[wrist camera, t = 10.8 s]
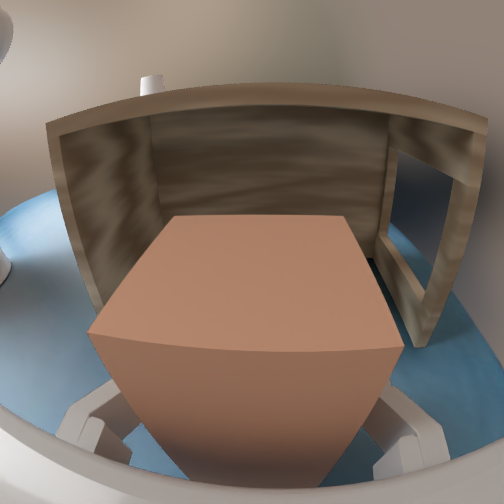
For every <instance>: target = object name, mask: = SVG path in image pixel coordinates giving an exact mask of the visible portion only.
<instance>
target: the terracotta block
mask: <svg viewBox="0 0 504 504" xmlns="http://www.w3.org/2000/svg"><path fill="white" fill-rule="evenodd" d="M87 334H88V336H89V338H90V340H91V342H92V343H93V345H94V347H95V349H96V351H97V353H98V355H99V356H100V358H101V360H102V362H103V363H104V365H105V367H106V369H107V370H108V372H109V374H110V375H111V377H112V379H113V380H114V382H115V383H116V385H117V387H118V388H119V390H120V391H121V393H122V394H123V396H124V397H125V399H126V400H127V402H128V403H129V405H130V406H131V408H132V409H133V411H134V412H135V413H136V415H137V416H138V418H139V419H140V420H141V422H142V423H143V424H144V426H145V427H146V428H147V430H148V431H149V432H150V434H151V435H152V436H153V438H154V439H155V440H156V441H157V443H158V444H159V445H160V446H161V447H162V449H163V450H164V451H165V452H166V453H167V455H168V456H169V457H170V458H171V459H172V460H173V462H174V463H175V464H176V465H177V466H178V467H179V468H180V469H181V471H182V472H183V473H184V474H185V475H186V476H187V477H188V478H189V479H190V480H191V481H197V482H203V483H210V484H218V485H226V486H236V487H249V488H273V489H293V488H317V487H318V486H319V485H320V484H321V482H322V481H323V480H324V479H325V477H326V476H327V475H328V473H329V472H330V471H331V470H332V468H333V467H334V466H335V464H336V463H337V462H338V460H339V459H340V457H341V456H342V455H343V453H344V452H345V450H346V449H347V448H348V446H349V445H350V443H351V442H352V440H353V439H354V437H355V436H356V434H357V433H358V431H359V430H360V428H361V426H362V425H363V423H364V422H365V420H366V418H367V417H368V415H369V413H370V412H371V410H372V408H373V407H374V405H375V403H376V401H377V400H378V398H379V396H380V394H381V392H382V391H383V389H384V387H385V385H386V383H387V381H388V379H389V377H390V375H391V373H392V371H393V369H394V367H395V365H396V363H397V361H398V359H399V357H400V355H401V353H402V351H403V348H404V343H403V341H402V338H401V336H400V333H399V331H398V328H397V326H396V324H395V321H394V319H393V317H392V314H391V312H390V310H389V307H388V305H387V303H386V301H385V298H384V296H383V294H382V292H381V289H380V287H379V285H378V283H377V281H376V279H375V277H374V275H373V272H372V270H371V268H370V266H369V264H368V262H367V260H366V258H365V256H364V254H363V252H362V250H361V248H360V246H359V244H358V242H357V241H356V239H355V237H354V235H353V233H352V231H351V229H350V227H349V225H348V224H347V222H346V220H345V218H344V216H326V215H189V216H174V217H173V218H172V219H171V220H170V222H169V223H168V224H167V225H166V226H165V228H164V229H163V230H162V231H161V232H160V234H159V235H158V236H157V237H156V239H155V240H154V241H153V242H152V244H151V245H150V246H149V247H148V249H147V250H146V251H145V252H144V254H143V255H142V256H141V257H140V259H139V260H138V261H137V263H136V264H135V265H134V267H133V268H132V269H131V270H130V272H129V273H128V274H127V276H126V277H125V278H124V280H123V281H122V282H121V284H120V285H119V287H118V288H117V289H116V291H115V292H114V293H113V295H112V296H111V298H110V299H109V300H108V302H107V303H106V305H105V306H104V307H103V309H102V310H101V312H100V313H99V315H98V316H97V318H96V319H95V320H94V322H93V323H92V325H91V326H90V328H89V329H88V331H87Z"/></svg>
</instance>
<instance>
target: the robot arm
mask: <svg viewBox="0 0 504 504" xmlns="http://www.w3.org/2000/svg"><path fill="white" fill-rule="evenodd" d="M12 38H13V24H12V20H11V18H10V16H9V15H8V13H7V12H6V11H4V10H3V9H2V8H1V7H0V64H1V62H2V61H3V59H4V58H5V56H6V54H7V52H8V50H9V48H10V45H11V42H12ZM10 269H11V262H10V261H9V259H8V258H7V257H6V255H5V254H4V252H3V251H2V249H1V248H0V285H1V283H2V282H3V281H4V280H5V278H6V277H7V275H8V273H9V271H10ZM140 423H142V422H141V420H140V419H139V418H138V416H137V415H136V413H135V412H134V411H133V409H132V408H131V406H130V405H129V403H128V402H127V400H126V399H125V397H124V396H123V394H122V393H121V391H120V390H119V388H118V387H117V385H116V383H115V382H114V380H113V379H110V380H109V381H107V382H106V383H104V384H103V385H101V386H100V387H98V388H97V389H95V390H94V391H92V392H91V393H89V394H88V395H86V396H85V397H83V398H82V399H80V400H79V401H77V402H75V403H74V404H72V405H71V406H69V408H68V410H67V412H66V414H65V416H64V418H63V420H62V422H61V424H60V426H59V428H58V430H57V432H56V435H55V436H54V435H52V434H50V433H48V432H46V431H44V430H42V429H41V428H39V427H37V426H35V425H33V424H32V423H30V422H28V421H26V420H25V419H23V418H21V417H20V416H18V415H16V414H15V413H13V412H12V411H10V410H9V409H7V408H5V407H4V406H2V405H1V404H0V504H504V437H502V438H500V439H498V440H496V441H494V442H492V443H490V444H488V445H486V446H484V447H481V448H479V449H477V450H475V451H472V452H470V453H467V454H465V455H462V456H460V457H457V458H455V459H452V460H451V459H450V455H449V451H448V447H447V443H446V439H445V436H444V432H443V429H442V426H441V425H440V424H439V423H437V422H436V421H435V420H434V419H433V418H432V417H431V416H429V415H428V414H427V413H426V412H425V411H424V410H423V409H421V408H420V407H419V406H418V405H417V404H416V403H414V402H413V401H412V400H411V399H410V398H409V397H408V396H406V395H405V394H404V393H403V392H402V391H401V390H400V389H398V388H397V387H392V384H391V381H390V377H389V379H388V381H387V383H386V385H385V387H384V389H383V391H382V392H381V394H380V396H379V398H378V400H377V401H376V403H375V405H374V407H373V408H372V410H371V412H370V413H369V415H368V417H367V418H366V420H365V422H364V423H363V425H362V426H363V427H364V429H365V430H366V431H367V432H368V434H369V435H370V436H371V437H372V439H373V440H374V441H375V442H376V443H377V445H378V446H379V447H380V448H381V449H382V451H383V452H384V453H385V454H384V455H383V456H382V457H381V458H380V459H379V460H378V461H377V462H376V463H375V464H374V465H373V466H372V467H373V476H374V481H368V482H362V483H355V484H348V485H340V486H330V487H317V488H293V489H273V488H249V487H236V486H226V485H218V484H210V483H203V482H197V481H191V480H186V479H181V478H176V477H171V476H167V475H162V474H158V473H154V472H150V471H147V470H143V469H139V468H136V467H133V466H129V462H130V459H131V455H132V451H131V449H130V448H129V447H128V446H127V445H126V444H125V443H124V442H123V441H122V440H123V439H124V438H125V437H126V436H127V435H128V434H130V433H131V432H132V431H133V430H134V429H135V428H136V427H137V426H138V425H139V424H140Z"/></svg>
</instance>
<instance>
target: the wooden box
mask: <svg viewBox="0 0 504 504" xmlns="http://www.w3.org/2000/svg"><path fill="white" fill-rule="evenodd" d="M487 125H488V118H486V117H483V116H480V115H477V114H474V113H471V112H468V111H465V110H462V109H459V108H455V107H452V106H449V105H445V104H441V103H437V102H434V101H429V100H425V99H421V98H417V97H412V96H407V95H402V94H397V93H392V92H386V91H380V90H372V89H366V88H358V87H350V86H340V85H328V84H313V83H240V84H224V85H213V86H203V87H194V88H186V89H179V90H172V91H167V92H160V93H154V94H149V95H144V96H139V97H134V98H129V99H126V100H121V101H117V102H113V103H109V104H105V105H101V106H97V107H94V108H90V109H87V110H84V111H81V112H77V113H74V114H71V115H68V116H65V117H62V118H59V119H57V120H54V121H51V122H48V123H46V130H47V139H48V145H49V152H50V158H51V164H52V170H53V175H54V180H55V185H56V190H57V194H58V199H59V203H60V207H61V211H62V215H63V219H64V222H65V226H66V229H67V233H68V236H69V240H70V243H71V246H72V249H73V252H74V255H75V258H76V261H77V264H78V267H79V270H80V273H81V275H82V278H83V281H84V283H85V286H86V289H87V291H88V294H89V296H90V299H91V301H92V304H93V306H94V308H95V311H96V313H97V315H99V313H100V312H101V310H102V309H103V307H104V306H105V305H106V303H107V302H108V300H109V299H110V298H111V296H112V295H113V293H114V292H115V291H116V289H117V288H118V287H119V285H120V284H121V282H122V281H123V280H124V278H125V277H126V276H127V274H128V273H129V272H130V270H131V269H132V268H133V267H134V265H135V264H136V263H137V261H138V260H139V259H140V257H141V256H142V255H143V254H144V252H145V251H146V250H147V249H148V247H149V246H150V245H151V244H152V242H153V241H154V240H155V239H156V237H157V236H158V235H159V234H160V232H161V231H162V230H163V229H164V228H165V226H166V225H167V224H168V223H169V222H170V220H171V219H172V218H173V217H174V216H189V215H326V216H344V218H345V220H346V222H347V224H348V225H349V227H350V229H351V231H352V233H353V235H354V237H355V239H356V241H357V242H358V244H359V246H360V248H361V250H362V252H363V254H364V256H365V258H373V260H374V262H375V264H376V266H377V268H378V270H379V272H380V274H381V276H382V278H383V280H384V282H385V284H386V286H387V288H388V290H389V292H390V294H391V296H392V298H393V300H394V302H395V304H396V307H397V309H398V311H399V313H400V315H401V317H402V320H403V322H404V324H405V326H406V329H407V331H408V333H409V336H410V338H411V340H412V343H413V345H414V348H420V347H426V345H427V343H428V341H429V339H430V337H431V335H432V333H433V331H434V329H435V326H436V324H437V322H438V320H439V318H440V315H441V313H442V311H443V308H444V306H445V304H446V301H447V299H448V296H449V294H450V291H451V288H452V286H453V283H454V280H455V278H456V275H457V272H458V269H459V266H460V263H461V260H462V257H463V254H464V250H465V247H466V244H467V240H468V237H469V233H470V229H471V225H472V222H473V218H474V213H475V209H476V204H477V200H478V195H479V189H480V184H481V178H482V171H483V165H484V157H485V149H486V138H487ZM398 150H399V151H401V152H404V153H406V154H408V155H410V156H412V157H414V158H416V159H418V160H420V161H422V162H425V163H426V164H429V165H430V166H432V167H434V168H436V169H438V170H440V171H442V172H444V173H446V174H447V175H449V176H451V177H453V178H454V181H453V187H452V193H451V198H450V203H449V208H448V213H447V217H446V222H445V226H444V231H443V234H442V238H441V243H440V246H439V250H438V254H437V257H436V260H435V264H434V267H433V270H432V273H431V276H430V279H429V282H428V285H427V288H426V291H424V289H423V287H422V286H421V284H420V283H419V281H418V280H417V278H416V276H415V275H414V273H413V272H412V270H411V269H410V267H409V266H408V264H407V263H406V261H405V260H404V258H403V257H402V255H401V254H400V252H399V251H398V250H397V248H396V247H395V245H394V244H393V243H392V241H391V240H390V238H389V237H388V236H387V233H388V227H389V221H390V215H391V209H392V202H393V195H394V187H395V179H396V170H397V160H398Z"/></svg>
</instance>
